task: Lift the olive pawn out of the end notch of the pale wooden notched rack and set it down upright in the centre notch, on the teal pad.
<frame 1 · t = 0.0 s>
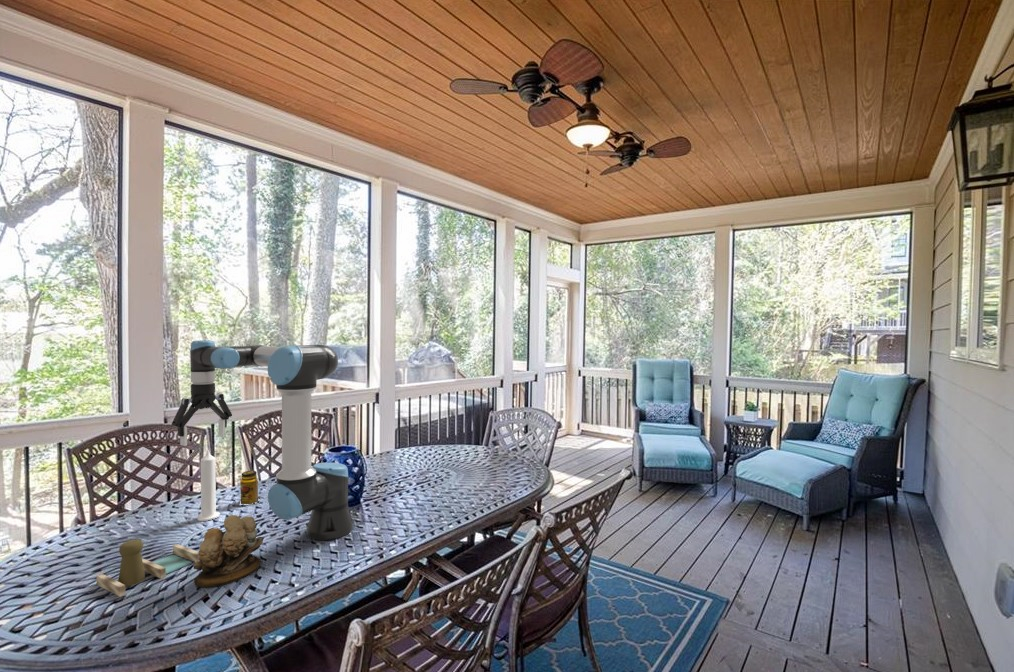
hand: (203, 440, 172), 28 cm above the table, tool pointing down, fingers open, 13 cm apart
olive pawn: (131, 581, 131), on the table
candle: (208, 517, 172), on the table
notched rack: (169, 564, 139), on the table
condiment: (250, 501, 188), on the table
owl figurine: (230, 573, 136), on the table
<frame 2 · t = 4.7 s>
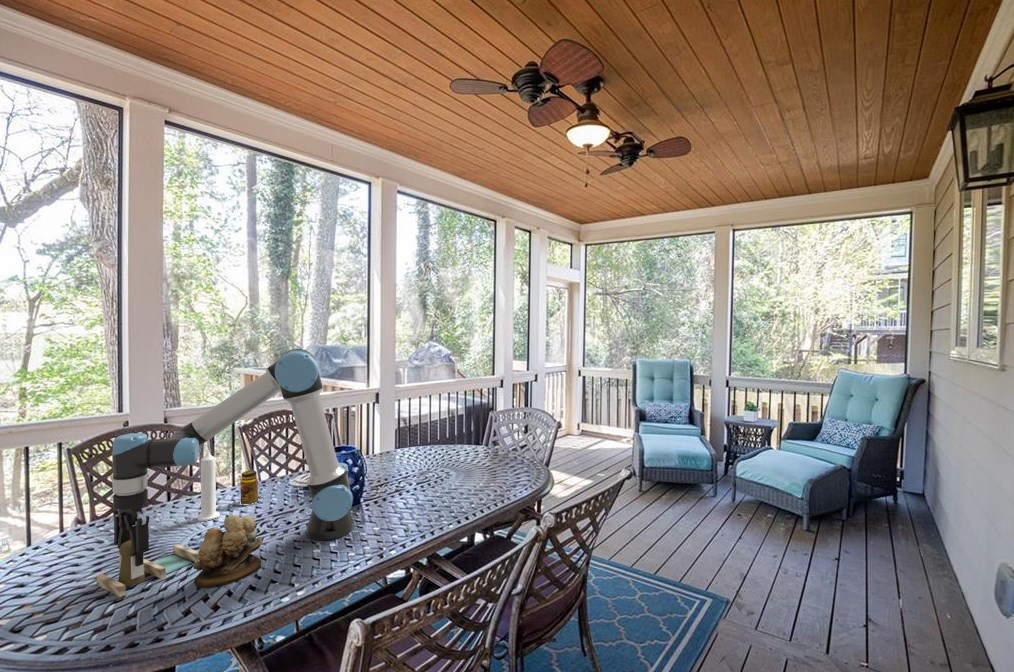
hand: (131, 573, 131), 2 cm above the table, tool pointing down, fingers closed on olive pawn, 5 cm apart
olive pawn: (131, 581, 131), on the table, touching gripper
everything else where it was.
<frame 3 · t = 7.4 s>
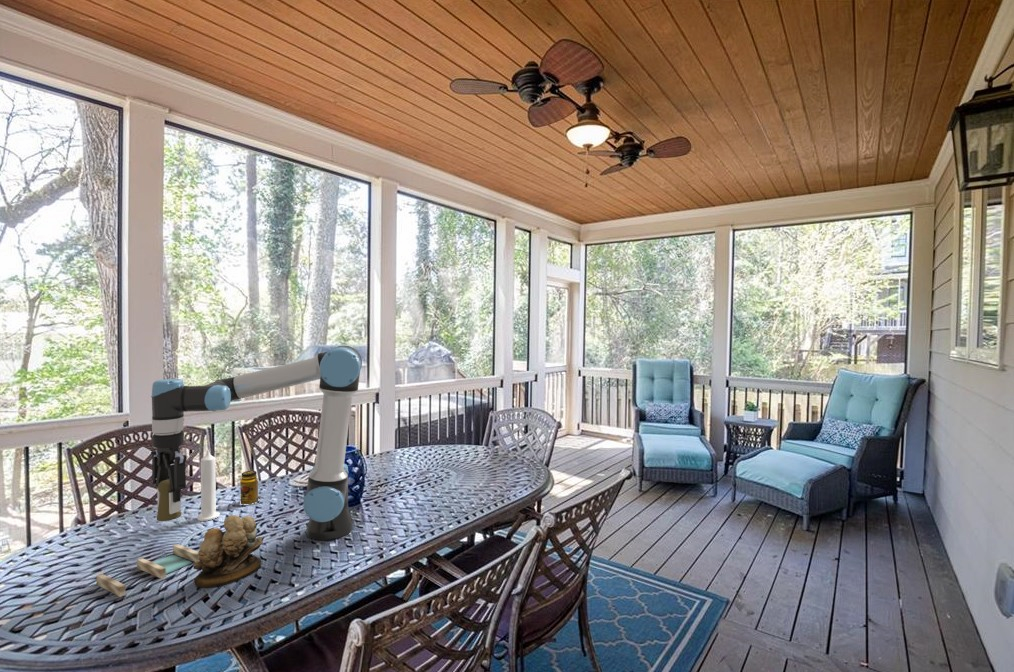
hand: (169, 510, 139), 16 cm above the table, tool pointing down, fingers closed on olive pawn, 5 cm apart
olive pawn: (169, 517, 139), point 14 cm above the table, touching gripper
everything else where it was.
when the fingers open (4 cm above the table, at t = 9.9 s): olive pawn drops 1 cm, resting on notched rack.
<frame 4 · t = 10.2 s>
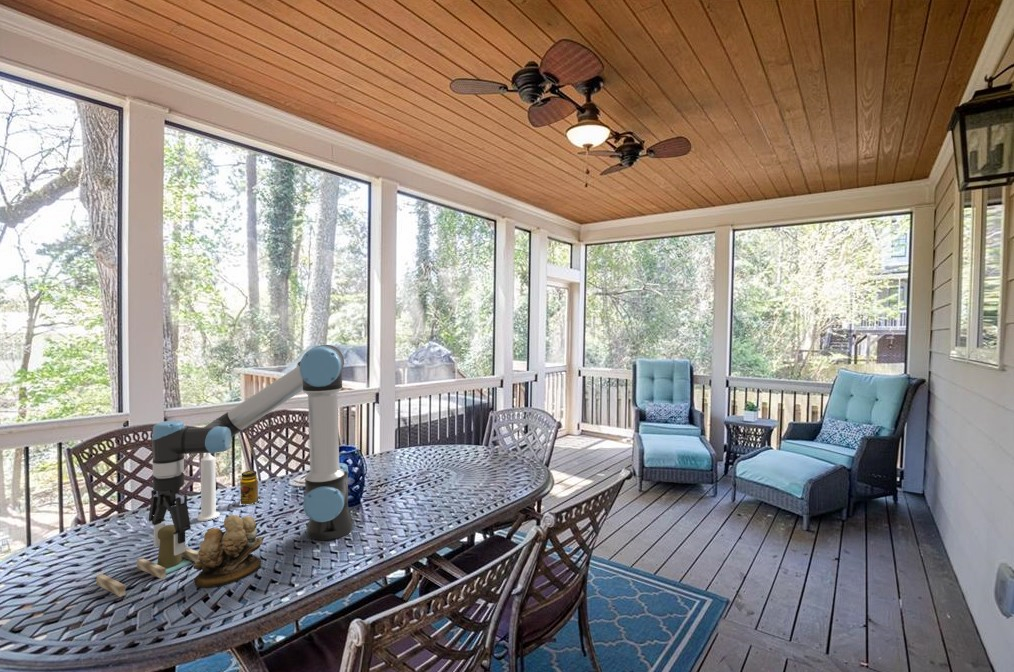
hand: (169, 549, 139), 5 cm above the table, tool pointing down, fingers open, 9 cm apart
olive pawn: (169, 563, 139), resting on notched rack
everything else where it was.
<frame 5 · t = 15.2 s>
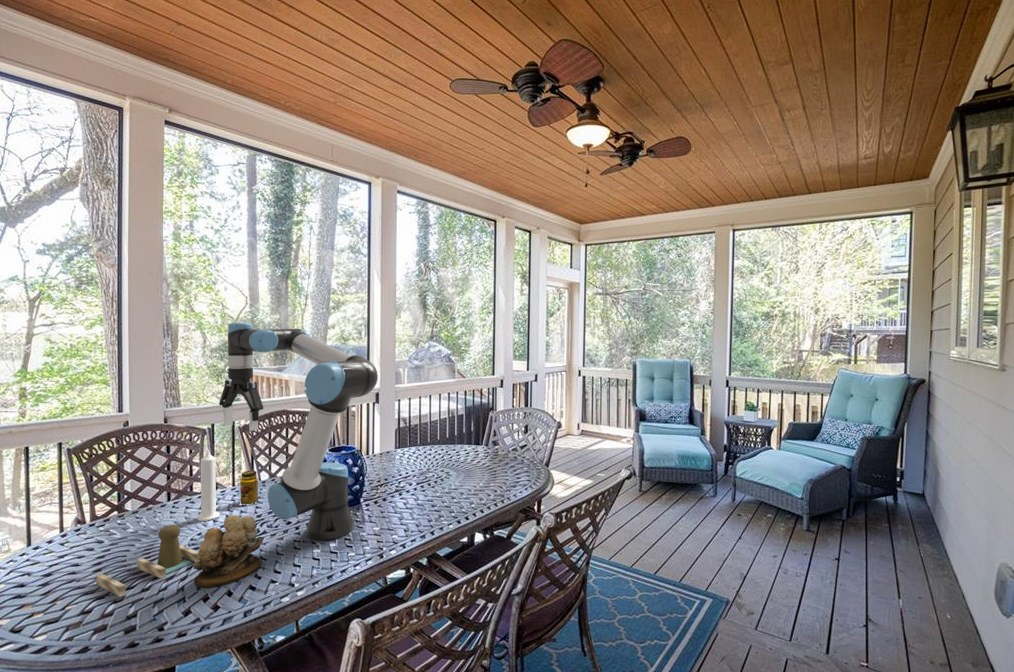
hand: (240, 428, 165), 35 cm above the table, tool pointing down, fingers open, 13 cm apart
nothing on the table moved.
at the end: olive pawn 0.0 cm off-centre on the notched rack, point 0.1 cm above the notched rack's base; olive pawn tilted 0°; the gripper is holding nothing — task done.
